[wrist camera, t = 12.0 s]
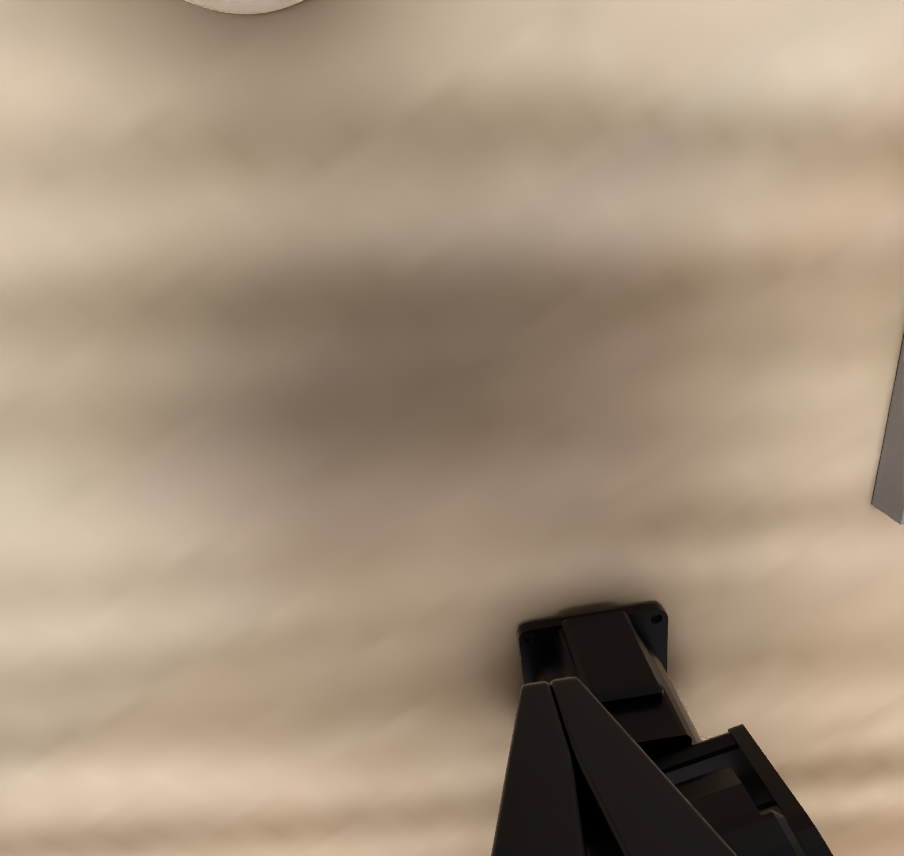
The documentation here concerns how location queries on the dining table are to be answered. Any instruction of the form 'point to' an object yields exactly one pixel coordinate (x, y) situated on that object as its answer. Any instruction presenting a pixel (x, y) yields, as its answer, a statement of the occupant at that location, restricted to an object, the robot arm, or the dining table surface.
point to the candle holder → (244, 5)
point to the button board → (893, 455)
